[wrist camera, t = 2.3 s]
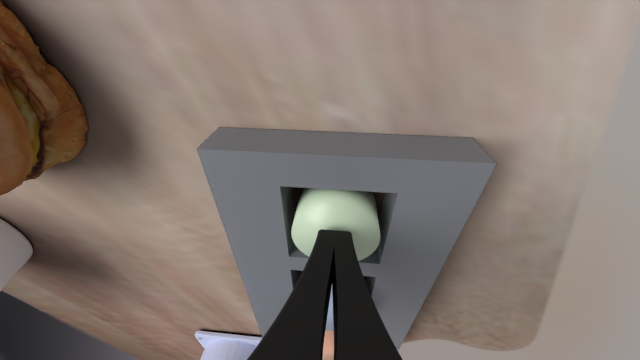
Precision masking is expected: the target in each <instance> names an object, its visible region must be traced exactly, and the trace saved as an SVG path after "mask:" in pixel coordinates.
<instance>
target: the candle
mask: <svg viewBox="0 0 640 360" xmlns="http://www.w3.org/2000/svg"><path fill="white" fill-rule="evenodd" d="M32 254H33V248H32V246H31V244H30V242H29V241H28V240H27V238H26V237H25V236H24V235H23V234H22V233H20V232H19V231H18V230H17V229H16V228H14V227H13V226H11V225H10V224H9V223H7V222H5V221H4V220H2V219H1V218H0V291H1V290H2V289H3V288H4V287H5V286H6V285H7V284H8V283H9V281H10V280H11V279H12V278H13V277H14V276H15V275H16V274H17V273H18V272H19V270H20V269H21V268H22V267H23V266H24V265H25V264H26V262H27V261H28V260H29V259H30V257H31V256H32Z"/></svg>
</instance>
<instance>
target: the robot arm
mask: <svg viewBox="0 0 640 360" xmlns="http://www.w3.org/2000/svg"><path fill="white" fill-rule="evenodd" d="M331 287H332V295H333V326H334V360H402V359H401V356H400V355H399V353H398V351H397V349H396V347H395V345H394V343H393V341H392V339H391V337H390V336H389V334H388V332H387V330H386V327H385V325H384V323H383V321H382V319H381V317H380V315H379V313H378V311H377V308H376V306H375V304H374V302H373V299H372V297H371V294H370V292H369V290H368V287H367V285H366V282H365V279H364V276H363V274H362V271H361V268H360V265H359V262H358V259H357V255H356V252H355V248H354V244H353V238H352V233H351V232H350V231H338V230H324V229H321V230H319V231H318V234H317V238H316V241H315V244H314V247H313V249H312V252H311V254H310V257H309V259H308V261H307V263H306V265H305V267H304V270H303V272H302V274H301V276H300V278H299V280H298V281H297V283H296V285H295V287H294V289H293V291H292V292H291V294H290V296H289V298H288V299H287V301H286V303H285V305H284V306H283V308H282V309H281V311H280V313H279V314H278V316H277V317H276V319H275V321H274V322H273V324H272V325H271V327H270V328H269V329H268V331H267V332H266V334H265V335H264V337H263V338H262V337H255V336H245V335H236V334H226V333H217V332H208V331H196V333H195V337H196V338H197V340H198V341H199V342H200V344H201V345H202V346H203V348H204V352H203V354H202V357H201V359H200V360H322V358H323V345H324V336H325V329H326V322H327V315H328V308H329V301H330V294H331Z"/></svg>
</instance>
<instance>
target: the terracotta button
mask: <svg viewBox="0 0 640 360" xmlns="http://www.w3.org/2000/svg"><path fill="white" fill-rule="evenodd" d="M322 360H334V331H331V330H325V336H324V345H323V358H322Z"/></svg>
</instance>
